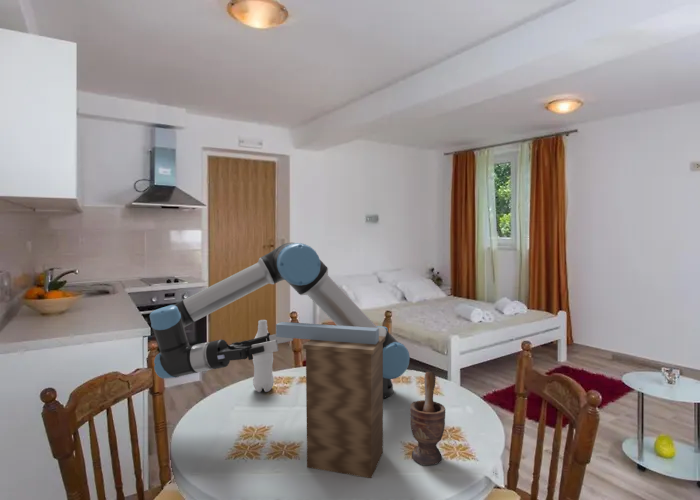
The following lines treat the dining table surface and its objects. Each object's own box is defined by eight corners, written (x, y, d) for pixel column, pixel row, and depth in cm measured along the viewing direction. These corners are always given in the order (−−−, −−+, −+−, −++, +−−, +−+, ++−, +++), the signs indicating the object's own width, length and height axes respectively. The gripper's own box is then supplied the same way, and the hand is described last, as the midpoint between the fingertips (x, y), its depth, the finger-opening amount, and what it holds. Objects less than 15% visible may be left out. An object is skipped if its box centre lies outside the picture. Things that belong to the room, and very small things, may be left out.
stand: (304, 468, 103) (303, 344, 102) (323, 442, 115) (322, 332, 114) (373, 479, 98) (372, 350, 97) (385, 451, 111) (385, 336, 109)
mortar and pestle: (404, 443, 115) (404, 370, 114) (436, 442, 115) (436, 369, 114) (414, 467, 103) (414, 385, 102) (449, 466, 104) (449, 384, 103)
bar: (276, 336, 109) (276, 324, 109) (281, 333, 112) (281, 321, 112) (375, 344, 102) (375, 331, 101) (378, 341, 105) (378, 328, 104)
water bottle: (269, 394, 150) (268, 323, 148) (249, 392, 151) (248, 322, 150) (276, 387, 157) (275, 319, 155) (258, 385, 158) (257, 318, 157)
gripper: (233, 358, 130) (299, 344, 127) (191, 382, 105) (273, 365, 102) (227, 334, 130) (294, 319, 127) (185, 351, 105) (266, 334, 102)
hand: (285, 340), depth 115 cm, fingers open, 13 cm apart
